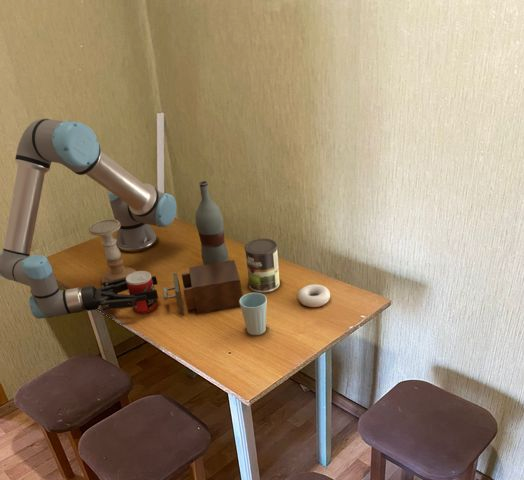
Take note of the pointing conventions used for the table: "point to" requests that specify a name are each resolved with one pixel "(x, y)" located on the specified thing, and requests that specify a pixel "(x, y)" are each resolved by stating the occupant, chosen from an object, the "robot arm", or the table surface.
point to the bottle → (210, 229)
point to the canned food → (141, 289)
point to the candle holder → (111, 249)
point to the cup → (254, 312)
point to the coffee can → (262, 265)
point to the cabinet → (215, 286)
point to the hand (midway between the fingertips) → (156, 286)
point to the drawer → (187, 292)
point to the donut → (314, 301)
